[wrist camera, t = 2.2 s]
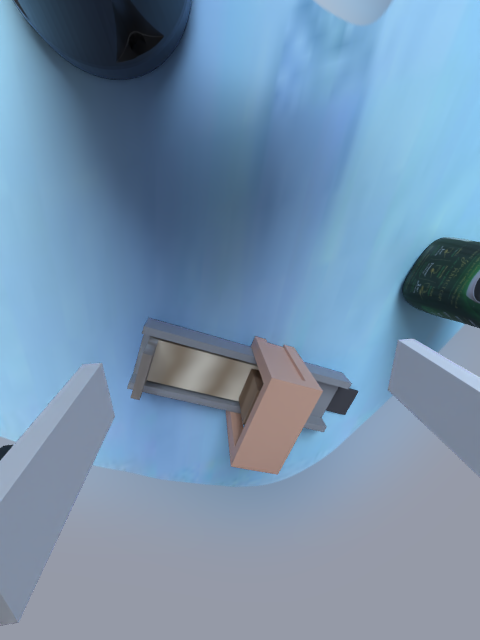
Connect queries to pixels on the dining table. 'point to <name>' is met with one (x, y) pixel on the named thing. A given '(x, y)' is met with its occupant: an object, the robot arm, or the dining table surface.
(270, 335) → the dining table surface
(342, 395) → the dark grey flat block
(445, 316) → the coffee jar
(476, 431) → the robot arm
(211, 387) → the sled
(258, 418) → the tunnel
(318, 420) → the rail
